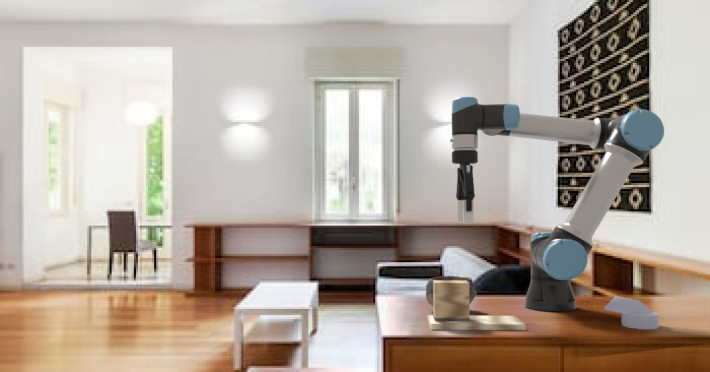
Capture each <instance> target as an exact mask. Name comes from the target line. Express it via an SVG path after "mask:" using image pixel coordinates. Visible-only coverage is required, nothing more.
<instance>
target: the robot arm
mask: <svg viewBox="0 0 710 372" xmlns="http://www.w3.org/2000/svg"><path fill="white" fill-rule="evenodd" d="M451 103H452V104H451V138H450V139H449V142H450V143H452V144H451V148H452V152H451V162H452V164H455V165H459V167H457V168H456V170H457V171H456V174H457V178H456V193H455V197H456V209H457V210H456V212H457V213H456V215H457V216H456V219H457V220H456V222H459V223H460V222H463V224H474V222H475V221H474V199H475V197H476V194H475V184H474V170H473V168H474V166H473V165H475V164H477V163H478V162H479V154H478V153H479V152H478V148H479V136H478V135H479V134H478V132H479V131H481V132H482V133H483V134H485V135H486V136H491V137H494V136H501V137H502V136H503V137H515V138H522V139H523V138H524V139H532V140H541V141H551V142H558V143H559V142H560V143H569V144H577V145H586V146H589V147H590V148H591V149H594V150H599V151H605V154H604V155H603V157H602V158H601V161H600V162H599V164H598V165H597V167H596V169H595V170H594V172H593V173H592V174H591V175H592V176H591V177H590V179H589V180H588V182H587V184H586V185H585V186H584V187H585V188H583V191H582V192H581V194H580V196H579V197H578V199H577V200H576V203H575V204H574V206H573V208H572V209H571V211H570V212H569V214H568V216H567V217H566V219H565V221H564V223H561V224H558V225H555V227H554V229H553V230H552V231H547V232H546V231H543V232H534V233H533V234H531V236H530V242H529V245H530V282H529V287H528V290H527V292H526V296H525V300H524V303H525V305H524V306H525V308H528V309H531V310H537V311H545V312H546V311H547V312H548V311H549V312H568V311H575V310H577V301H576V297H575V294H574V290H573V288H572V285H571V280H574V279H576V278H578V277H579V276H581V275H582V274H583V273H584V271H586V268H587V265H588V261H589V260H588V259H589V258H588V256H589V255H590V252H591V251H592V249H593V248H594V242H593V240H592V239H593V237H594V235H595V234H596V231H597V230H598V228H599V226H600V225H601V224H602V222H603V220H604V218H605V216H606V214H607V213H608V211H609V210H610V207H611V206H612V204H613V203H614V201H615V199H616V197H618V195H619V193H620V192H621V189H622V188H623V187H624V185H625V182H626V181H627V179H628V177H629V176H630V174H631V173H632V171H633V170H634V168H635V167H637V166H640V165H643V164H644V162H645V160H646V158H647V157H648V155H649V153H651V150H653V149H656V147H657V146H659V145H660V144H661V142H662V141H663V138H664V136H665V126H664V124H663V121H662V119H661V118H660V117H659V116H658V115H657V114H656V113H654V112H653V111H651V110H648V109H634V110H630V111H629V112H627V113H625V114H622V115H621V116H620V115H619V116H615V117H609V118H607V117H606V118H604V117H596V118H595V119H593V120H590V119H581V118H571V117H570V118H568V117H560V116H549V115H543V114H542V115H541V114H530V113H522V112H521V111H520V107H519V105H518V104H515V103H513V104H510V103H500V104H499V103H498V104H492V103H491V104H480V103H479V102H478V99H477V97H474V96H459V97H456V98H454V99H453V100H452V102H451Z"/></svg>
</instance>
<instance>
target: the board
mask: <svg viewBox="0 0 710 372" xmlns="http://www.w3.org/2000/svg"><path fill="white" fill-rule="evenodd" d="M426 317H427V320H426V321H427V323H428V326H429V328H430V330H433V331H435V330H436V331H437V330H438V331H439V330H440V331H441V330H442V331H443V330H444V331H445V330H446V331H447V330H449V331H454V330H455V331H457V330H459V331H467V330H470V331H526V329H527V328H526V326H527V325H526V323H524V321H522V320H521V319H520V318H518V317H517V316H516V315H470V321H435V320H434V318H433V314H429V315H427V316H426Z"/></svg>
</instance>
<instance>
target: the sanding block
mask: <svg viewBox="0 0 710 372" xmlns="http://www.w3.org/2000/svg"><path fill="white" fill-rule="evenodd" d="M432 309H433V310H432V315H433V318H434V320H435V321H470V316H471V315H470V314H471V313H470V311H471V310H470V305H469V282H468V281H459V280H433V306H432Z"/></svg>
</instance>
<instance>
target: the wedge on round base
mask: <svg viewBox="0 0 710 372" xmlns="http://www.w3.org/2000/svg"><path fill="white" fill-rule="evenodd" d="M603 310H604V311H610V312H615V313H620V314H621V326H622V327H624V328H631V329H635V328H636V329H637V330H657V329H659V328H660V320H659V318H660V314H659V313H656V312H655V311H654V312H653V310H651V309H650V308H649V307H648V306H646V304H644V303H643V302H642V301H641V300H638V299H633V298H629V297H622V296H616V295H615V296H614V297H612V299H611V300H610V301H609V302H608V303H607V304H606V305H605V306H604V307H603Z"/></svg>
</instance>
